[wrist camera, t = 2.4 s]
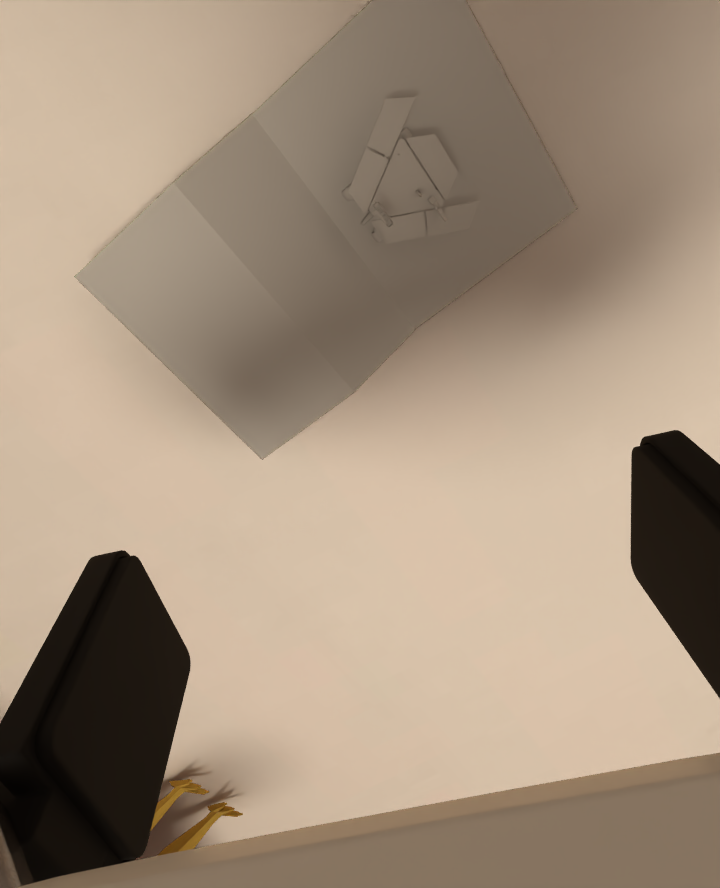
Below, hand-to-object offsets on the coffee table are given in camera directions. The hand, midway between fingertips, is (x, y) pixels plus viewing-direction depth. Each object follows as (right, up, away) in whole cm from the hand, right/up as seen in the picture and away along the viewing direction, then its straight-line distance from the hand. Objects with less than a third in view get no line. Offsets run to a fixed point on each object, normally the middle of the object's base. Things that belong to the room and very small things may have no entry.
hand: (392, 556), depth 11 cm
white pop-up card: (-1, +8, +6) cm, 10 cm away
